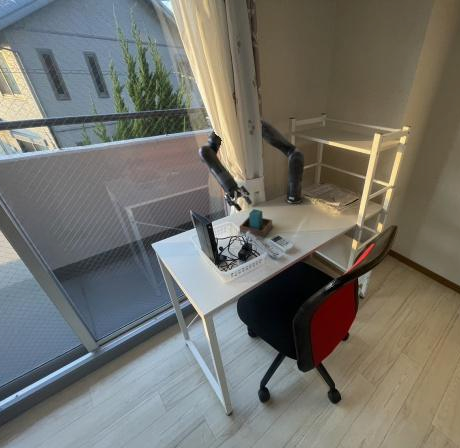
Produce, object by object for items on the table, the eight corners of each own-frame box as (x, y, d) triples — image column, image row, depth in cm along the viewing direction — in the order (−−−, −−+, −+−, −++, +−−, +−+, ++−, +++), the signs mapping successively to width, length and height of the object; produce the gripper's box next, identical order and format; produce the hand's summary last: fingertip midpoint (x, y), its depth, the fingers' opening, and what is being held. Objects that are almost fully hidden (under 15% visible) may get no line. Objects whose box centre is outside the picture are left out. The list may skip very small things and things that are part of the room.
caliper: (246, 239, 122) (245, 229, 119) (247, 238, 123) (247, 228, 120) (274, 259, 110) (274, 247, 107) (276, 257, 111) (276, 246, 108)
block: (254, 225, 132) (253, 209, 127) (262, 227, 131) (262, 210, 125) (250, 230, 128) (249, 213, 123) (258, 232, 127) (258, 215, 121)
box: (250, 221, 136) (250, 215, 134) (272, 226, 133) (272, 220, 131) (240, 233, 127) (239, 226, 124) (263, 238, 123) (262, 231, 121)
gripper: (232, 180, 132) (250, 205, 134) (213, 189, 122) (233, 216, 123) (239, 173, 127) (257, 198, 129) (220, 182, 117) (240, 209, 118)
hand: (245, 207), depth 126 cm, fingers open, 8 cm apart
